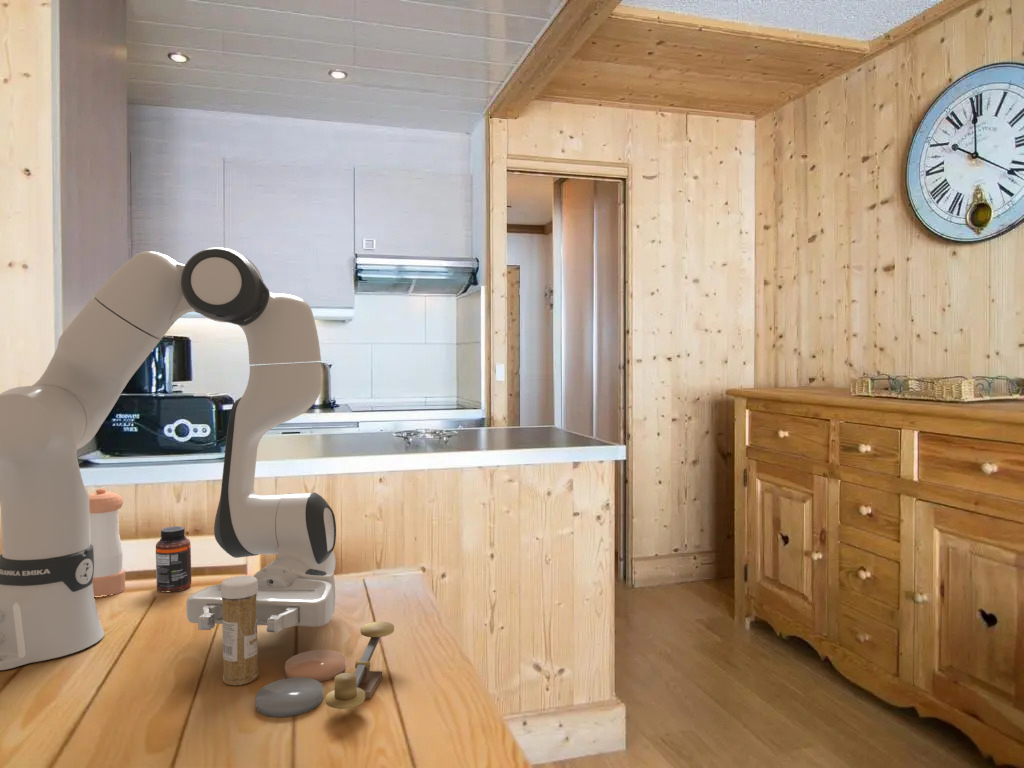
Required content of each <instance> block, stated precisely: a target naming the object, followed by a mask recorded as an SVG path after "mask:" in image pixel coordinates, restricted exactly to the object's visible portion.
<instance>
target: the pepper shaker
mask: <svg viewBox="0 0 1024 768" xmlns="http://www.w3.org/2000/svg"><path fill="white" fill-rule="evenodd" d="M88 494H89V507H90V544H91V545H93V550H94V574H93V581H92V583H93V592H94V596H101V595H111V594H115V595H118V594H120V593H122V592H124V591H125V590H126V570H125V569H124V568H123V566H124V564H123V560H124V559H123V558H124V556H123V555H124V552H123V546H122V541H121V536H120V525H119V523H120V522H119V520H120V519H119V518H120V517H119V509H121V508H122V506H123V504H124V500H123V498H122V496H121V495H120V494H118V493H116V492H113V491H107V489H106V488H103V487H101V488H97V489H96V491H95V492H92V493H88ZM111 596H112V595H111Z"/></svg>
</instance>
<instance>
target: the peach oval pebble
mask: <svg viewBox="0 0 1024 768" xmlns="http://www.w3.org/2000/svg"><path fill="white" fill-rule="evenodd" d="M345 670H346V656H345V655H344V654H343V653H341V652H339V651H337V650H332V649H314V650H308V651H303V652H300V653H296V654H294V655H293V656H291V657H290V658H288V659H287V660H286V661H285V663H284V675H285V677H286V678H285V679H287V678H297V677H301V678H310V679H314V680H317V681H319V682H320V683H322V682H326V681H330V680H332V679H334V678H335V676H337V675H339V674H342V673H344V671H345Z"/></svg>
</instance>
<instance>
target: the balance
mask: <svg viewBox="0 0 1024 768" xmlns="http://www.w3.org/2000/svg"><path fill="white" fill-rule="evenodd" d="M394 632H395V625H394V624H393V623H391V622H390V621H389V622H387V621H372V622H368V623H365V624H363V625H362V626H361V627H360V634H361V635H362V636H364V637H367V638H370V639H369V641H368V643H367V645H366V647H365V649H364V652H363V653H362V656H361V658H360V660H359V661H357V660H356V661H355V662H354V663H355V665H354V669H355V671H353V672H343V673H341V674H339V675H337V676H335V678H333V679H334V680H333V681H334V689H333V690H331V691H329V692H327V694H326V696H325V703H326V705H327V706H328V707H330V708H332V709H338V710H339V709H340V710H344V709H345V710H347V709H351V708H354V707H358V706H359V705H361V704H362V703H364V701H366V699H371V698H372V696H373V694H374V692H375V691H376V689H377V687H378V686H379V684H380V683H381V681H382V679H383V671H381V670H380V671H375V670H373V671H372V670H371V658H372V657H373V654H374V652H375V650H376V648H377V645H378V643H379V641H380V639H381V638H383V637H387V636H389V635H392V634H393V633H394Z"/></svg>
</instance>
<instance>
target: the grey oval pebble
mask: <svg viewBox="0 0 1024 768" xmlns="http://www.w3.org/2000/svg"><path fill="white" fill-rule="evenodd" d="M323 699H324V685H323V684H322V682H319V681H317V680H314V679H310V678H301V677H297V678H282V679H279V680H275V681H272V682H270V683H268V684H266V685H264V686H262V687H261V688H260V689H258V691H257V692H256V694H255V709H256V710H257V711H258V713H260V714H262V715H264V716H268V717H274V718H285V717H286V718H287V717H292V716H297V715H301V714H304V713H308V712H310V711H312V710H314V709H316V708H317V707H318V706H319V705H320V704H321V703H322V702H323Z"/></svg>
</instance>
